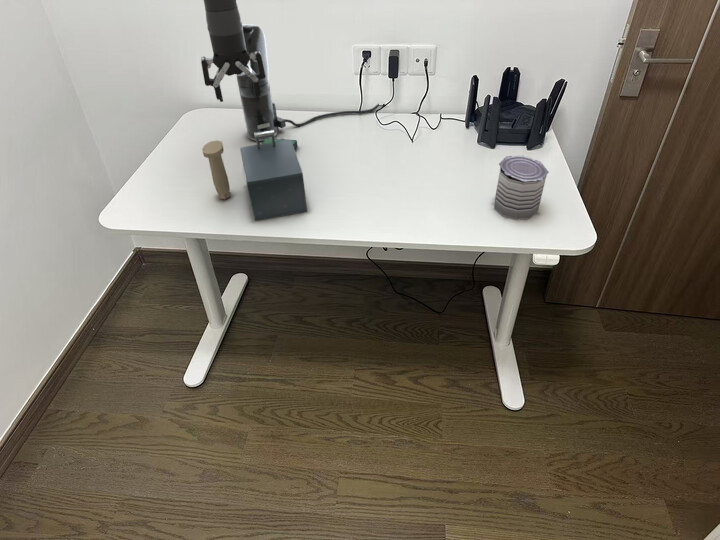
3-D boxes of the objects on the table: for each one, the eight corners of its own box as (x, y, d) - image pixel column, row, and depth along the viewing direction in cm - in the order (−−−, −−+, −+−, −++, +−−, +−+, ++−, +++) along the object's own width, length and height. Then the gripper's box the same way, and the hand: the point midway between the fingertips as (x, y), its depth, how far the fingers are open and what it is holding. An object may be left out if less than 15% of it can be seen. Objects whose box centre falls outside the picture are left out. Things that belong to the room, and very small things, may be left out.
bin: (248, 186, 146) (240, 151, 138) (296, 178, 148) (291, 143, 141) (254, 221, 134) (247, 185, 126) (307, 211, 136) (302, 175, 129)
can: (501, 190, 140) (508, 150, 132) (544, 201, 136) (554, 160, 128) (486, 212, 133) (493, 171, 125) (530, 225, 129) (540, 183, 121)
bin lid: (240, 150, 139) (236, 131, 135) (291, 142, 141) (288, 123, 138) (247, 185, 126) (243, 165, 123) (302, 175, 129) (300, 156, 125)
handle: (236, 190, 144) (225, 141, 134) (229, 203, 140) (217, 153, 130) (219, 189, 145) (207, 140, 135) (212, 203, 140) (199, 153, 130)
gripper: (255, 20, 121) (266, 88, 132) (192, 27, 119) (209, 95, 130) (258, 30, 116) (269, 100, 127) (193, 37, 113) (210, 108, 124)
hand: (239, 98), depth 128 cm, fingers open, 8 cm apart
